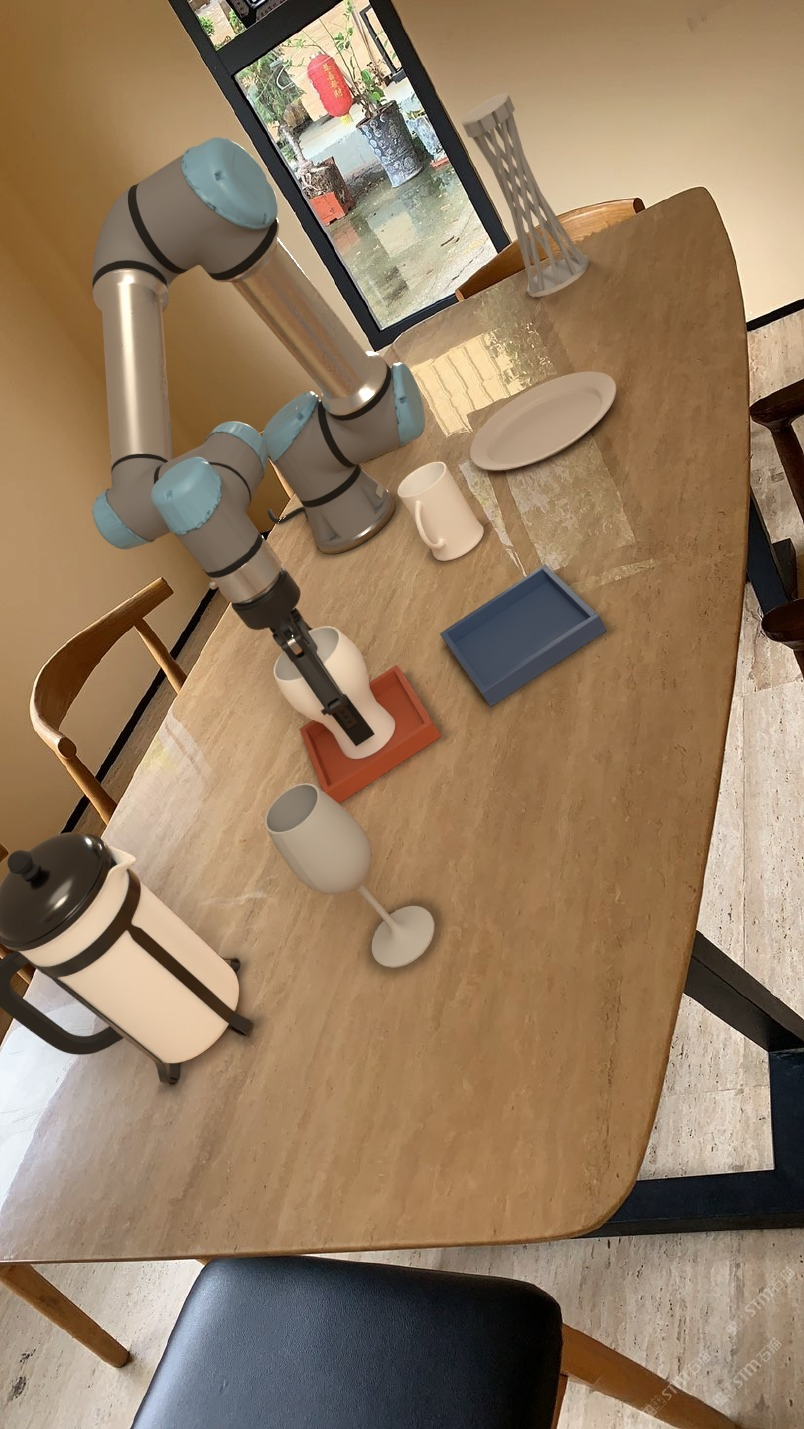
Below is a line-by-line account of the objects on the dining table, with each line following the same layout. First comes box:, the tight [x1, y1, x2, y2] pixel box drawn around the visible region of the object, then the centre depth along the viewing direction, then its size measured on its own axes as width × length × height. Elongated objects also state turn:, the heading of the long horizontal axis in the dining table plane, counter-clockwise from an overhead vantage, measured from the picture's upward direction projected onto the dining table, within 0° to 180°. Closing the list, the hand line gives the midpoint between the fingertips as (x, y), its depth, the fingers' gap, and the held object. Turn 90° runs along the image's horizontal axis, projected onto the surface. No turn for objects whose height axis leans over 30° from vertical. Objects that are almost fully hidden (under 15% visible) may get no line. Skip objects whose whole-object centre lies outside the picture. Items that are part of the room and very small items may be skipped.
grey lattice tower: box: [461, 92, 591, 298], centre depth 204 cm, size 14×13×35 cm
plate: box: [469, 371, 617, 471], centre depth 169 cm, size 26×26×2 cm
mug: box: [396, 461, 485, 562], centre depth 153 cm, size 12×8×12 cm
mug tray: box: [439, 563, 607, 708], centre depth 131 cm, size 17×17×2 cm
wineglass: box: [264, 782, 436, 969], centre depth 100 cm, size 8×8×21 cm
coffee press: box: [0, 831, 255, 1086], centre depth 103 cm, size 17×16×30 cm
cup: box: [272, 625, 395, 759], centre depth 128 cm, size 11×11×15 cm
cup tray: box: [299, 664, 442, 805], centre depth 132 cm, size 16×16×2 cm
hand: (351, 712), depth 130 cm, fingers open, 12 cm apart
